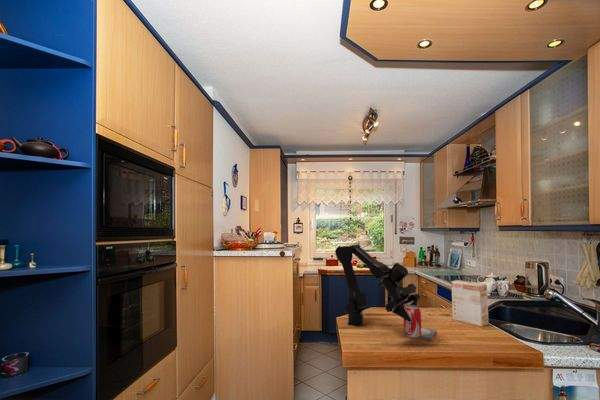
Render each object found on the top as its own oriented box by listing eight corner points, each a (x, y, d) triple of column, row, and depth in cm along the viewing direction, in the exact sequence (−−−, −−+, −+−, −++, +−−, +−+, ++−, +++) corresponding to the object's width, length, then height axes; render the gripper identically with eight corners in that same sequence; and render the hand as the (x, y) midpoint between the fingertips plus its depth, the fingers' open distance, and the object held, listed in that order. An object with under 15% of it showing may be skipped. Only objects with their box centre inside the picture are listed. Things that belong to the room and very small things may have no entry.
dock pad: (403, 335, 150) (403, 332, 150) (409, 328, 160) (409, 325, 161) (431, 340, 144) (431, 337, 144) (436, 332, 154) (436, 329, 154)
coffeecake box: (489, 324, 165) (487, 283, 166) (481, 327, 161) (479, 285, 162) (459, 316, 177) (458, 279, 178) (452, 319, 173) (450, 281, 174)
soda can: (422, 338, 138) (422, 309, 139) (404, 337, 139) (404, 308, 140) (419, 333, 145) (419, 305, 146) (402, 332, 146) (402, 304, 147)
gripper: (390, 280, 141) (414, 313, 132) (416, 275, 152) (439, 305, 143) (375, 296, 147) (397, 328, 137) (401, 289, 158) (423, 319, 149)
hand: (415, 319), depth 142 cm, fingers closed on soda can, 7 cm apart
